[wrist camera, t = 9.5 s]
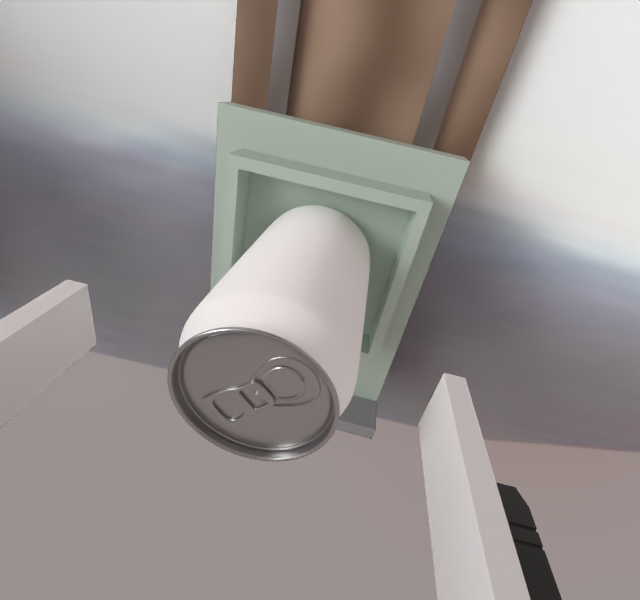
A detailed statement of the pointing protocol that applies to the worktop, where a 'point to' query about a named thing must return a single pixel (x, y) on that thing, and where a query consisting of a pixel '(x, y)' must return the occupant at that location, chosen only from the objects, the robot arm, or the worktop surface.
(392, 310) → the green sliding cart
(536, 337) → the worktop surface
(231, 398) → the can
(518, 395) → the worktop surface
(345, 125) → the track
